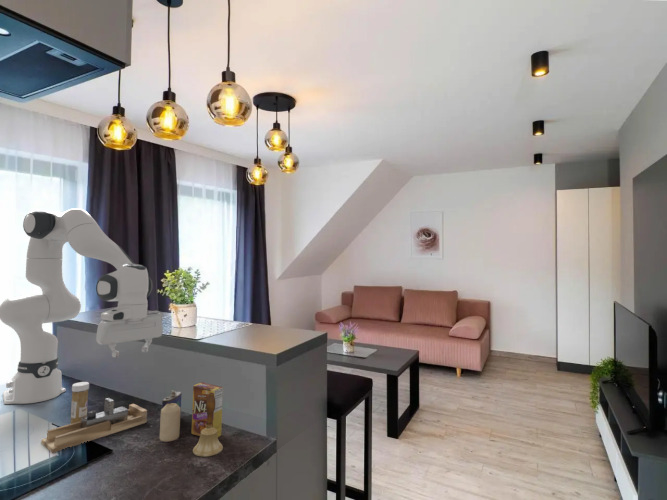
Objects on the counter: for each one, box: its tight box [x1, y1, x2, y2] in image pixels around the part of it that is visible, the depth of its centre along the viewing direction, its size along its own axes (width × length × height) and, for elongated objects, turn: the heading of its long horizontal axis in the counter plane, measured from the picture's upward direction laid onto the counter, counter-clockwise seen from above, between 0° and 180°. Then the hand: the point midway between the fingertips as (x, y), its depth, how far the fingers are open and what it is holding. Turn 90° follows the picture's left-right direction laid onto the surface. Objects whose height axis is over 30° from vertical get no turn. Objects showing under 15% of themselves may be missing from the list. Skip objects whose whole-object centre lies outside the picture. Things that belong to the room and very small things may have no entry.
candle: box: [159, 403, 182, 443], centre depth 113 cm, size 6×6×10 cm
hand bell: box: [192, 393, 224, 458], centre depth 107 cm, size 8×8×16 cm
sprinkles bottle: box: [70, 381, 90, 424], centre depth 119 cm, size 5×5×14 cm
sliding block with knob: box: [80, 397, 129, 429], centre depth 117 cm, size 4×12×8 cm, turn 144°
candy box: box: [191, 381, 224, 438], centre depth 116 cm, size 9×4×15 cm, turn 65°
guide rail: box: [40, 403, 148, 454], centre depth 115 cm, size 9×26×4 cm, turn 144°
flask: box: [161, 389, 182, 419], centre depth 123 cm, size 9×3×11 cm, turn 171°
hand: (130, 354), depth 123 cm, fingers open, 8 cm apart
